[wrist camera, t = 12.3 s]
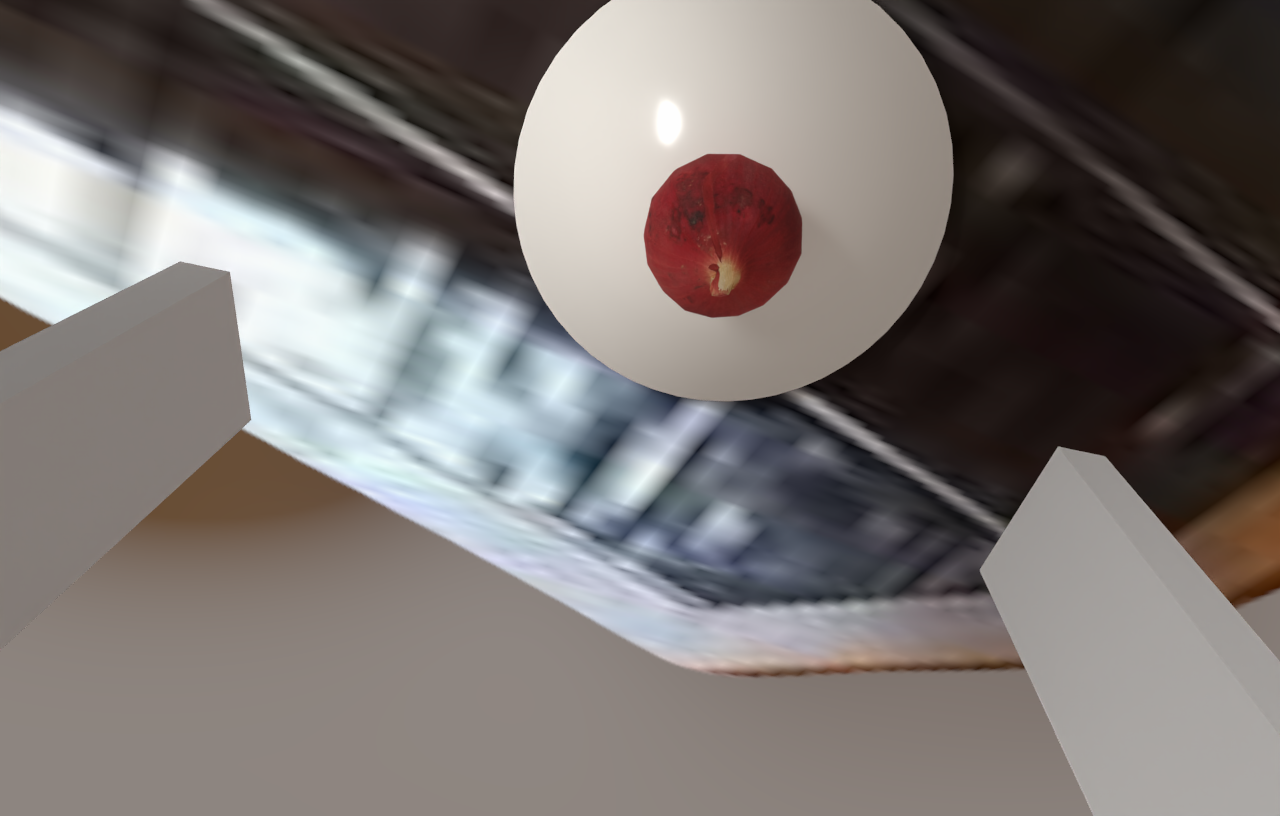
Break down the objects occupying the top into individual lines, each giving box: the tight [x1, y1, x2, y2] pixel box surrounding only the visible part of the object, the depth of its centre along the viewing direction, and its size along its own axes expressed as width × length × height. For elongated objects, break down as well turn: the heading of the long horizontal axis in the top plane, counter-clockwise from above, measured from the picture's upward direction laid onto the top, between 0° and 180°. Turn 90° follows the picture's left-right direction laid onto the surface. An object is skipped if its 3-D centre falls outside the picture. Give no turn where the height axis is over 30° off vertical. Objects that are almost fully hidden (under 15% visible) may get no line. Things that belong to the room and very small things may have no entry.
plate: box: [514, 0, 954, 401], centre depth 29 cm, size 18×18×1 cm
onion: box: [644, 154, 802, 318], centre depth 25 cm, size 6×6×8 cm
